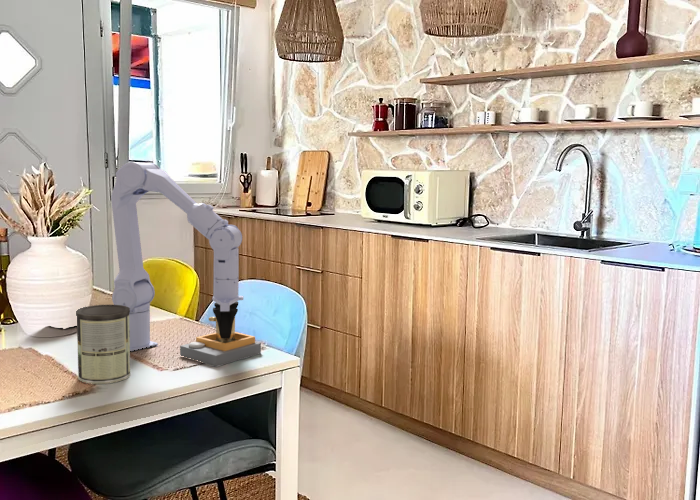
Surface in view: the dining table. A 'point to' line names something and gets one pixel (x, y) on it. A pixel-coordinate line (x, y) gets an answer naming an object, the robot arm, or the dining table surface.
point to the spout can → (218, 338)
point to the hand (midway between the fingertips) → (225, 335)
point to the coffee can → (103, 343)
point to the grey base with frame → (221, 349)
